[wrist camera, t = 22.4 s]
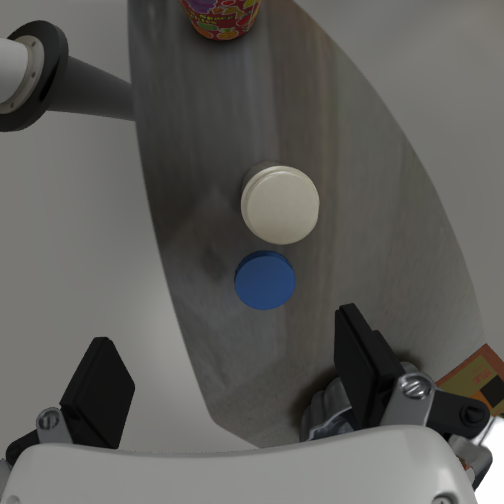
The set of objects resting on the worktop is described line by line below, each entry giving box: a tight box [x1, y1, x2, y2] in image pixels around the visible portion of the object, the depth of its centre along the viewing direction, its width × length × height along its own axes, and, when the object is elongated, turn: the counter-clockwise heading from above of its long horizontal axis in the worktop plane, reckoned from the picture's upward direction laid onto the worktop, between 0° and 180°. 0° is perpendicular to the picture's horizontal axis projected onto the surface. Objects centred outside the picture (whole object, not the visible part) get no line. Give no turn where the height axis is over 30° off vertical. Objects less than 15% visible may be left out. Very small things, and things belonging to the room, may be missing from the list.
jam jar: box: [241, 161, 319, 245], centre depth 27 cm, size 7×7×10 cm
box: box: [435, 344, 504, 471], centre depth 37 cm, size 17×9×20 cm, turn 123°
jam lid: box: [234, 251, 295, 310], centre depth 34 cm, size 7×7×2 cm
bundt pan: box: [300, 362, 445, 443], centre depth 40 cm, size 26×26×10 cm
